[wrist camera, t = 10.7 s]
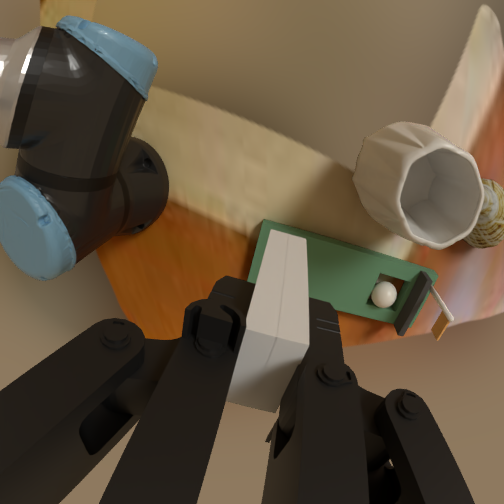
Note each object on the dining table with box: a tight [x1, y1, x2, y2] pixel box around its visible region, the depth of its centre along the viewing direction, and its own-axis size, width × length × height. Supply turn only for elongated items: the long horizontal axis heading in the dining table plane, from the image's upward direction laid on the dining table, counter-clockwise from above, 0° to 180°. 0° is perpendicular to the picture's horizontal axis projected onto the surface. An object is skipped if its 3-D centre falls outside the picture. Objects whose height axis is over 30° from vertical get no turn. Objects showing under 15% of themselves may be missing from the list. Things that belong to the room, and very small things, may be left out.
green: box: [247, 219, 454, 340], centre depth 39 cm, size 28×10×12 cm, turn 77°
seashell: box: [463, 179, 504, 248], centre depth 34 cm, size 10×10×10 cm
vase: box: [352, 122, 484, 250], centre depth 31 cm, size 14×14×15 cm
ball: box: [371, 281, 397, 308], centre depth 43 cm, size 4×4×4 cm
